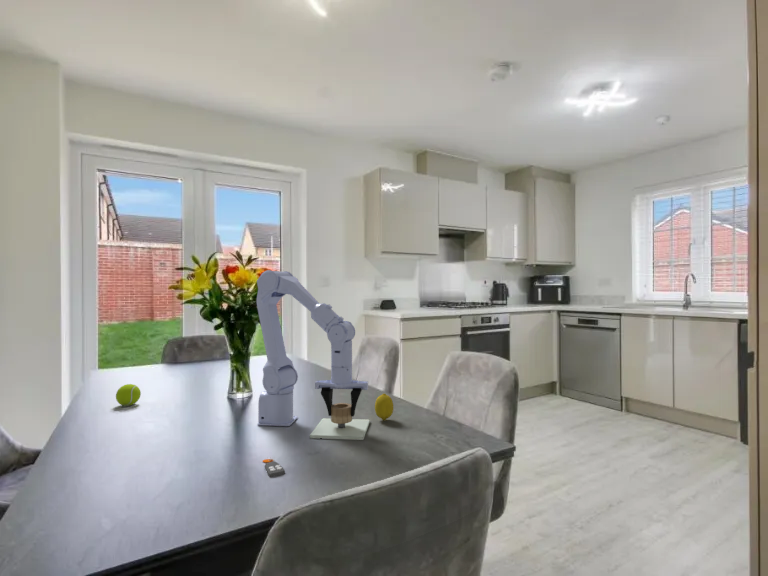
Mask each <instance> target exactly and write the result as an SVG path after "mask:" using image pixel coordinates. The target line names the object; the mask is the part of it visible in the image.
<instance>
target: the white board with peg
mask: <svg viewBox="0 0 768 576" xmlns="http://www.w3.org/2000/svg"><path fill="white" fill-rule="evenodd" d="M370 423H371V420H370V419H367V418H366V419H364V418H363V419H362V418H361V419H360V418H357V419H356V418H352V421H351V422H349V423H344V424H336V423H333V422H332V421H331V417H330V418H325V417H323V418H321V420H320V421H319V422H318V424H317V425H316V426H315V428H314V429H313V430H312V432H311V433H310V434H309V439H320V438H322V439H325V440H327V439H328V440H350V441H351V440H353V441H354V440H355V441H357V440H358V441H359V440H360V441H363V440H364V439H365V437H366V434H367V431H368V428H369V425H370ZM322 439H321V440H322Z"/></svg>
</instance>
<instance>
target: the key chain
mask: <svg viewBox="0 0 768 576" xmlns="http://www.w3.org/2000/svg"><path fill="white" fill-rule="evenodd" d="M262 463H265V464H264V470H265V471H267V472H266V473H267V475H268V477H269V478H274V477H278V476H279V477H280V476H282V475H285V474H286V470H285V468H284V467H283V466H282V465H281V464H280V463H278V462H277V461H275V459H274V458H270V459H268V458H267V459H266V458H265V459H263V460H262Z"/></svg>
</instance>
